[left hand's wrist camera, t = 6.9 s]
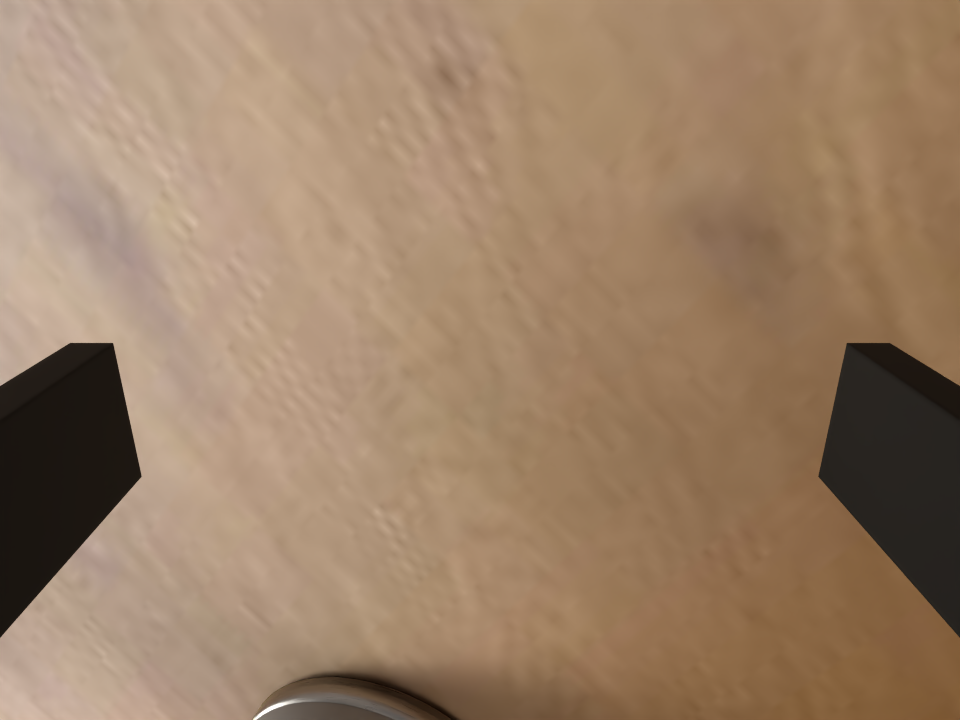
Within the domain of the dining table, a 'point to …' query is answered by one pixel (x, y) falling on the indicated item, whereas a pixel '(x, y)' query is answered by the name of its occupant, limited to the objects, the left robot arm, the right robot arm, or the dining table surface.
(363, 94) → the dining table surface
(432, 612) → the dining table surface
